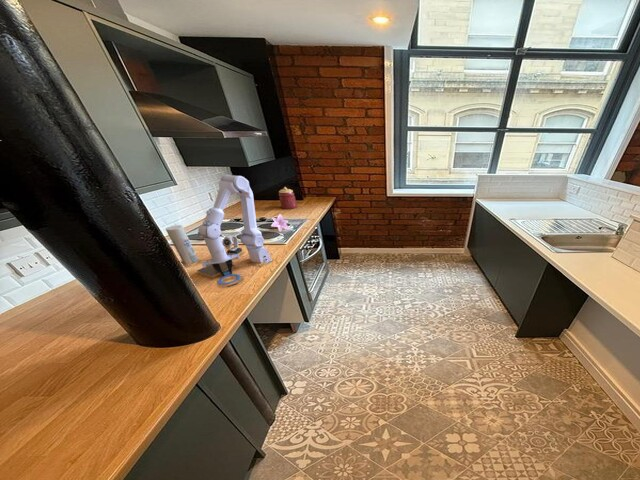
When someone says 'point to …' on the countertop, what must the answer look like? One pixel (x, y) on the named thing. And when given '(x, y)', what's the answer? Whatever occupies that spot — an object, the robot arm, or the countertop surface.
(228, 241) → the watch
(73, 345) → the countertop surface
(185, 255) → the spray can
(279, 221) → the lily
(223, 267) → the platform
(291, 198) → the kitchen canister
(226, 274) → the ring
